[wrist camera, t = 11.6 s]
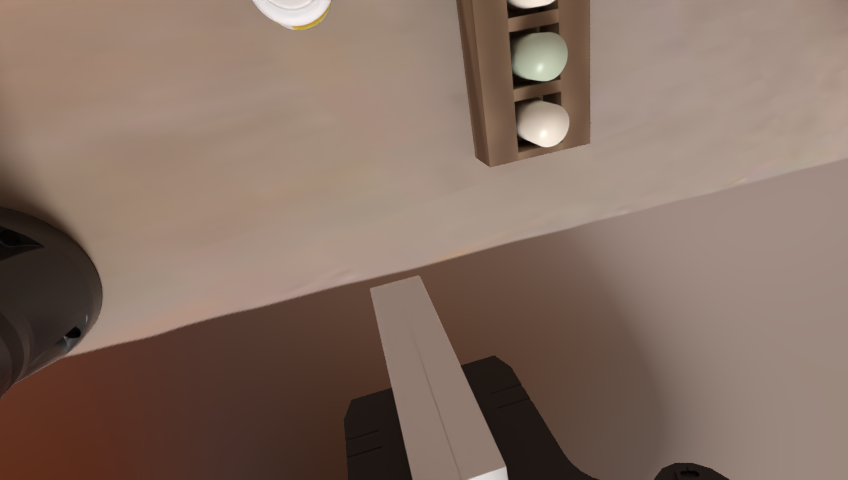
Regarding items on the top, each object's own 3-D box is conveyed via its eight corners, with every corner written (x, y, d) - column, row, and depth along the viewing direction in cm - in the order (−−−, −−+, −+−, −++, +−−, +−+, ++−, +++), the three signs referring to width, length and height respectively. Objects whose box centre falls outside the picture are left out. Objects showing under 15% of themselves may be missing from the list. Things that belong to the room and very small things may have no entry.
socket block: (475, 157, 43) (490, 167, 39) (451, -43, 35) (466, -53, 32) (568, 135, 44) (590, 143, 41) (563, -63, 37) (589, -74, 33)
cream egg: (507, 139, 42) (531, 151, 37) (504, 102, 41) (529, 109, 36) (541, 131, 43) (569, 142, 38) (539, 94, 41) (568, 100, 36)
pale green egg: (502, 80, 40) (527, 85, 35) (498, 38, 38) (524, 36, 33) (538, 73, 40) (568, 76, 35) (536, 30, 39) (567, 28, 34)
